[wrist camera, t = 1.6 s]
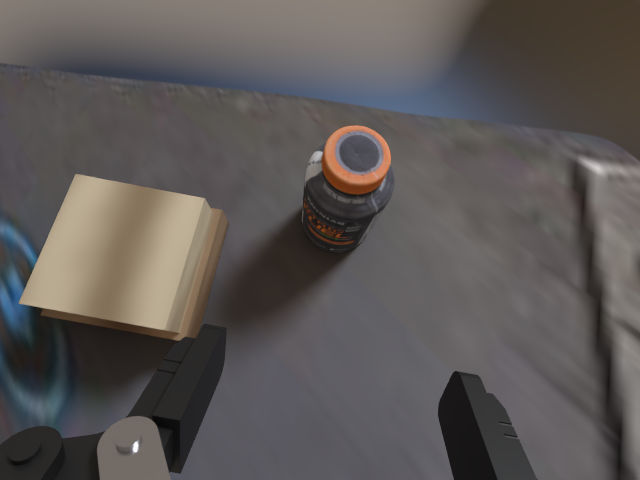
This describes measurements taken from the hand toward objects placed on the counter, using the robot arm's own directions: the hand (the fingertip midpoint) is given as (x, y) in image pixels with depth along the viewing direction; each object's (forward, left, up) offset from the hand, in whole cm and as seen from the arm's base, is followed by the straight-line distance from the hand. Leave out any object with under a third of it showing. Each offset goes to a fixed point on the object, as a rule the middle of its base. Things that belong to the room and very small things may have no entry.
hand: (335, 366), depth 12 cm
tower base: (-14, +5, -16) cm, 22 cm away
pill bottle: (0, +12, -16) cm, 20 cm away
